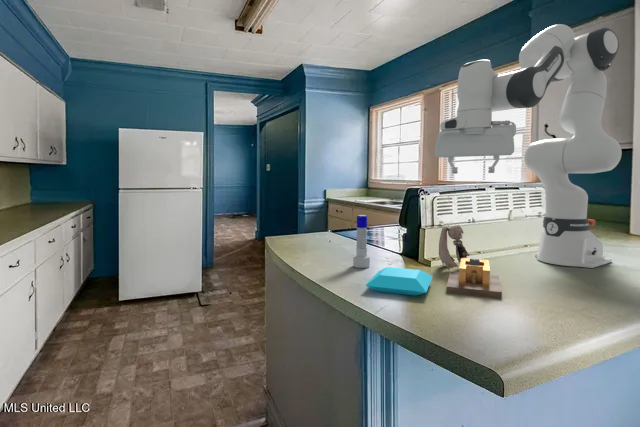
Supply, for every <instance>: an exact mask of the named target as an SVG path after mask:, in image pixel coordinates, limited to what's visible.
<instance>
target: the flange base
mask: <svg viewBox="0 0 640 427" xmlns="http://www.w3.org/2000/svg"><path fill="white" fill-rule="evenodd" d="M469 259H470V261H469V265H476V266H480V260H479V259H480V258H469ZM476 281H477V273H471V281H466V283H465V285H462V284H459V271H450V272H449V276H448V278H447V283H446V288H445V290H446V292H445V293H446V294H448V293H449V294H455V295H466V296H476V297H483V298H484V297H485V298H493V299H494V298H495V299H503V298H502V297H503V291H502V285H501V281H500V276H499V275H497V274H496V275H495V274H494V275H493V274H490V282H489V287H482V282H476Z"/></svg>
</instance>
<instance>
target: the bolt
mask: <svg viewBox="0 0 640 427" xmlns="http://www.w3.org/2000/svg"><path fill="white" fill-rule="evenodd" d="M367 229H368V216H367V215H366V214H358V215H357V216H356V249H355V250H356V252H355V253H356V254H354V255H353V256H352V259H353V260H352V262H353V263H352V265H353V266H352V267H354V268H356V269H368V268H369V267H370V265H371V263H370V262H371V261H370V260H371V256H370V255H368V252H367V251H368V248H367V246H368V244H367V243H368V242H367V241H368V237H367V236H368V230H367Z"/></svg>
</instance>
